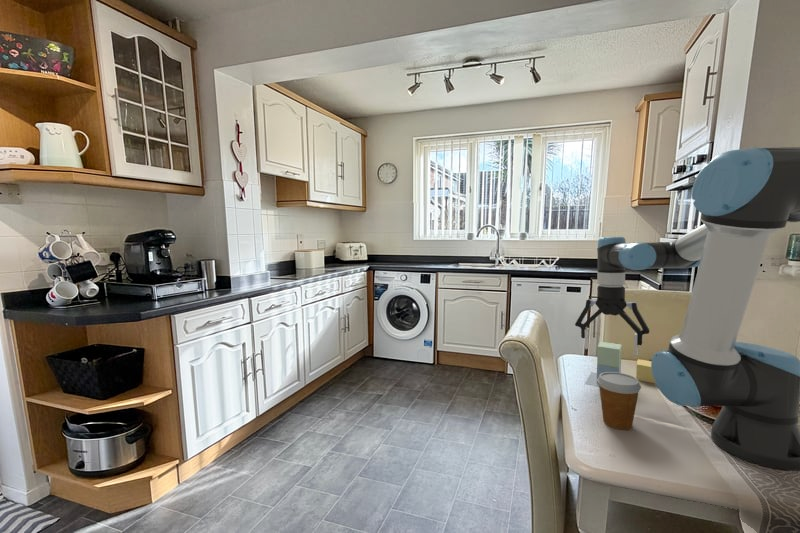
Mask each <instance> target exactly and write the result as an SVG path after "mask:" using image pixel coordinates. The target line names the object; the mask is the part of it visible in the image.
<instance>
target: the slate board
mask: <svg viewBox="0 0 800 533" xmlns="http://www.w3.org/2000/svg"><path fill="white" fill-rule="evenodd" d="M584 385H588V386H593V387H597V388H598V387H599V384H598V383H597V372H594V371H592V372H590V374H589V375H588V377H587V379H586V381H585V383H584Z"/></svg>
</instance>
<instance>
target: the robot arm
mask: <svg viewBox="0 0 800 533" xmlns="http://www.w3.org/2000/svg"><path fill="white" fill-rule="evenodd" d="M710 160H711V161H708V162H707V163H706V164H705V165H704V166H703V167H702V168H701V169H700V171H699V173H698V174H697V175H696V177H695V179H694V182H693V185H692V190H691V198H692V200H693V204H692V205H693V206H694V208H695V209H696V211H698V212H699V213H700V214H701V218H700V221H701V222H702V224H701V225H700V226H698V227H696V228H694V229H693V230H691V231H689V232H687V233H686V234H683V235H682V236H680V237H678V238H675V239H673V240H672V241H659V242H658V241H657V242H641V241H640V242H626V238H625V237H624V236H611V237H609V236H606V237H604V236H603V237H600V238H598V242H597V249H596V250H597V253H596V254H597V273H596V274H597V281H596V282H597V285H598V286H597V291H596V292H597V293H596V294H597V295H596V296H597V298H596V300H595V299H591V298H588V299H587V300H586V301H585V307H584V308H583V309H582V311H581V313H580V315H579V316H578V318H577V320H576V322H575V323H574V325H575V327H578V328H580V329H581V330H580V337H581V338H582V339H584V349H585V350H588V349H589V346H590V344H589V343H590V340H589V338H590V337H589V336H590V335H589V334H590V333H589V332H590V329H589V327H588V326H589V325H590V324H591V323H592V322H594V320H595V319H597V317H599V316H600V315H601V314H603V315H606V316H609V315H611V316H620V317H621V318H622V319H623V321H625V322H626V323H627V325H628V326H629V327H630V328H631V329H632V330H633V331H634V336H633V341H634V342H633V356H634V357H638V354H639V353H638V351H639V346H642V345H643V335H648V334H649V333H650V328H649V326H648V325H647V323H646V321H645V319H644V318H643V316H642V314H641V312H640V310H639V309H638V303H637V301H631V302H627V301H626V287H625V285H626V269H628V270H632V271H642V270H646V269H647V270H648V269H649V270H650V269H689V268H696V267H698V268H697V273H696V276H695V280H694V283H693V286H692V287H693V288H692V291H691V296H690V299H689V303H688V307H687V310H686V314H685V318H684V322H683V325H682V329H681V333H679V334H676V335H673V336H671V338H670V341H669V345H668V349H667V350H660V351H657V352H655V353H654V354H653V355H652V357H651V360H652V361H651V369H652V374H653V377H654V380H655V382H656V383H655V385H656V386H657V388H658V389H659V391H660V393H661V394H662V395H663V396H664V397H665V398H666V399H667V400H668V401H669V402H671V403H673V404H675V405H677V406H682V407H683V406H684V407H685V406H686V407H693V408H699V407H721V409H720V411H719V412H718V415H717V416H716V418H715V419H714V422H713V423H712V425H711V433H710V434H711V436H710V437H711V440H712V442H714V443H715V444H716V445H717V446H718V447H720V448H721V449H722V450H724V451H726V452H728V453H729V454H731V455H734V456H736V457H737V458H740V459H742V460H745V461H747V462H750V463H754V464H756V465H760V466H763V467H768V468H772V469H778V470H784V471H799V470H800V427H799V411H800V360H799V358H798V357H797V356H796V355H794V354H792V353H790V352H786V351H783V350H780V349H777V348H772V347H768V346H764V345H759V344H755V343H748V342H742V341H737V338H738V335H739V333H740V330H741V325H742V323H743V321H744V320H743V319H744V316H745V313H746V311H747V307H748V304H749V301H750V298H751V295H752V292H753V288H754V286H755V283H756V281H757V280H756V279H757V277H758V274H759V270H760V266H761V263H762V261H763V258H764V255H765V251H766V248H767V246H768V243H769V239H770V237H771V236H772V235H774V234H776V233H778V232H780V231H782V230H784V229H785V227H786V226H787V223H793V224H794V223H795V224H796V223H800V146H789V147H787V146H785V147H784V146H783V147H756V146H755V147H749V148H748V147H747V148H741V149H732V150H727V151H725V152H722V153H720V154H718V155H716V156H715V157H712V159H710ZM594 305H596V307H597V308H598V310H597V311H596V312H594V313H593V314H592V315H591V316H590V317H589V318H588V319H587V320H586V321H584V319H585V318H586V315H587V314H588V313H589V310H590V309H591V308H592V307H593V306H594ZM626 307H628V308H629V310H632V313H633V314H634V317H635V318H636V319H637V322H638V323H639V325H640V327H641V328H642V329H641V328H640V327H639V326H638V324H637V323H635V321H634V320H632V318H631V317H630V316H629V315H628V313H626V311H625V308H626ZM583 321H584V323H583Z"/></svg>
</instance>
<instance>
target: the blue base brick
mask: <svg viewBox="0 0 800 533" xmlns="http://www.w3.org/2000/svg"><path fill="white" fill-rule="evenodd" d="M621 370H622V363H621V364H620V367H619V368H615V367H609V366H603V365H598V364H596V373H597V379H598V378H599V375H600V374H601V373H603V372H618V373H622V372H621ZM597 383H598V382H597Z"/></svg>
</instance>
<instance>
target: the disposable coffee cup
mask: <svg viewBox="0 0 800 533" xmlns="http://www.w3.org/2000/svg"><path fill="white" fill-rule="evenodd" d="M597 382H598V384H599V394H600V403H601V412H602V418H603V419H602V421H603V423H604V422H605V423H606V424H605V423H604V424H605V425H606V426H608V427H610V428H612V429H616V430H620V431H621V430H623V431H625V430H630V429H633V425H634V424H633V423H634V418H635V413H636V408H637V407H636V406H637V403H638V396H639V392H640V391H641V389H642V386H641V384H640V380H637V379H636V376H635V377H634V376H632V375H629V374H626V373H622V372H621V373H618V372H603V373H601V374H600V375H599V378H598V379H597Z"/></svg>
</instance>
